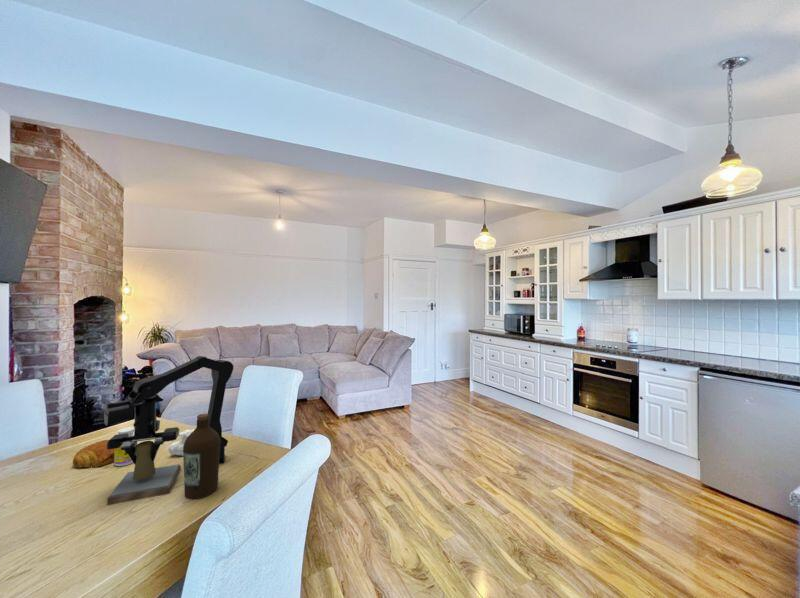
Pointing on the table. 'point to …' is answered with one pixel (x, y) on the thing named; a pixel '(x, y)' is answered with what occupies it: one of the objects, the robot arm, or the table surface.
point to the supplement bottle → (120, 455)
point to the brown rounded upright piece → (144, 461)
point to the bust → (179, 443)
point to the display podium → (145, 485)
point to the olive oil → (201, 460)
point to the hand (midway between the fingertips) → (144, 462)
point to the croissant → (94, 455)
